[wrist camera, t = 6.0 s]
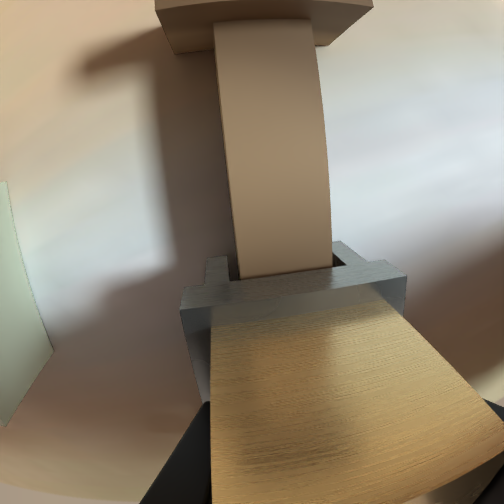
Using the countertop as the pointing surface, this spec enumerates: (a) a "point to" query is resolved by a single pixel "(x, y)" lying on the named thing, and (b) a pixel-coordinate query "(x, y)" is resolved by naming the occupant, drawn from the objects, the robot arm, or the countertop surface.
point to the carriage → (332, 391)
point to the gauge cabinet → (17, 320)
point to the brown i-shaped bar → (269, 119)
